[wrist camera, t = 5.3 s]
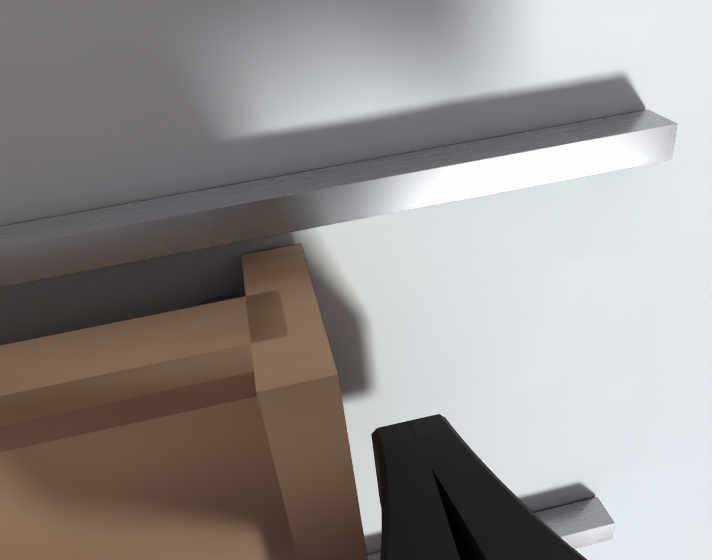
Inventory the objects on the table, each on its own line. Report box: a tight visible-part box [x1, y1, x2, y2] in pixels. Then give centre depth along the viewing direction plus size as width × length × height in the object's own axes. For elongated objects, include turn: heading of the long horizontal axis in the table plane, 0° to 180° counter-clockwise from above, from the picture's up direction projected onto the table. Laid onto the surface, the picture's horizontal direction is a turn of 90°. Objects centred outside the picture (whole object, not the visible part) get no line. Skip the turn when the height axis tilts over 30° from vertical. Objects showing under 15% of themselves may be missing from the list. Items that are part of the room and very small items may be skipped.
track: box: [0, 110, 677, 560], centre depth 12 cm, size 10×17×1 cm, turn 96°
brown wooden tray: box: [0, 244, 368, 560], centre depth 11 cm, size 8×8×4 cm
